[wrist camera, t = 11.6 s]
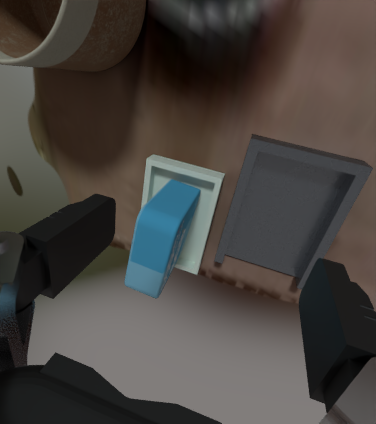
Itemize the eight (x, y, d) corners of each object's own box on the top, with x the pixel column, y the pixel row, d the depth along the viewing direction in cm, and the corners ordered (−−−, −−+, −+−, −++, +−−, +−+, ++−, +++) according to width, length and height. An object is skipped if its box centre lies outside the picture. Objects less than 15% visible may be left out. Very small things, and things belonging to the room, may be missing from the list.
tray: (225, 173, 36) (222, 179, 34) (200, 265, 44) (196, 274, 42) (153, 154, 37) (146, 158, 35) (142, 246, 45) (136, 254, 43)
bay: (364, 161, 31) (373, 168, 28) (302, 276, 39) (305, 290, 37) (252, 134, 33) (251, 138, 30) (217, 250, 41) (214, 261, 39)
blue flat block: (182, 251, 43) (155, 304, 32) (157, 241, 43) (122, 290, 33) (203, 186, 37) (178, 226, 26) (173, 175, 37) (137, 210, 27)
